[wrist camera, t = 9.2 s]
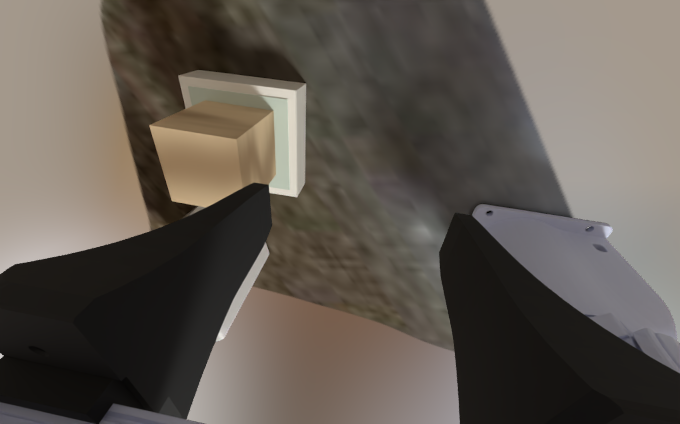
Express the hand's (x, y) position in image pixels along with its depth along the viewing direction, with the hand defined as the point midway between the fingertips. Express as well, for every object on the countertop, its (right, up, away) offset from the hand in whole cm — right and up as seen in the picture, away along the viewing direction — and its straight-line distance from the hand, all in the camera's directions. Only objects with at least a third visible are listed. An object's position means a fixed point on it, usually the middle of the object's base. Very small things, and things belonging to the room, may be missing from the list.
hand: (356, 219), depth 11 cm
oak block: (-7, +5, +8) cm, 12 cm away
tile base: (-7, +6, +10) cm, 14 cm away
